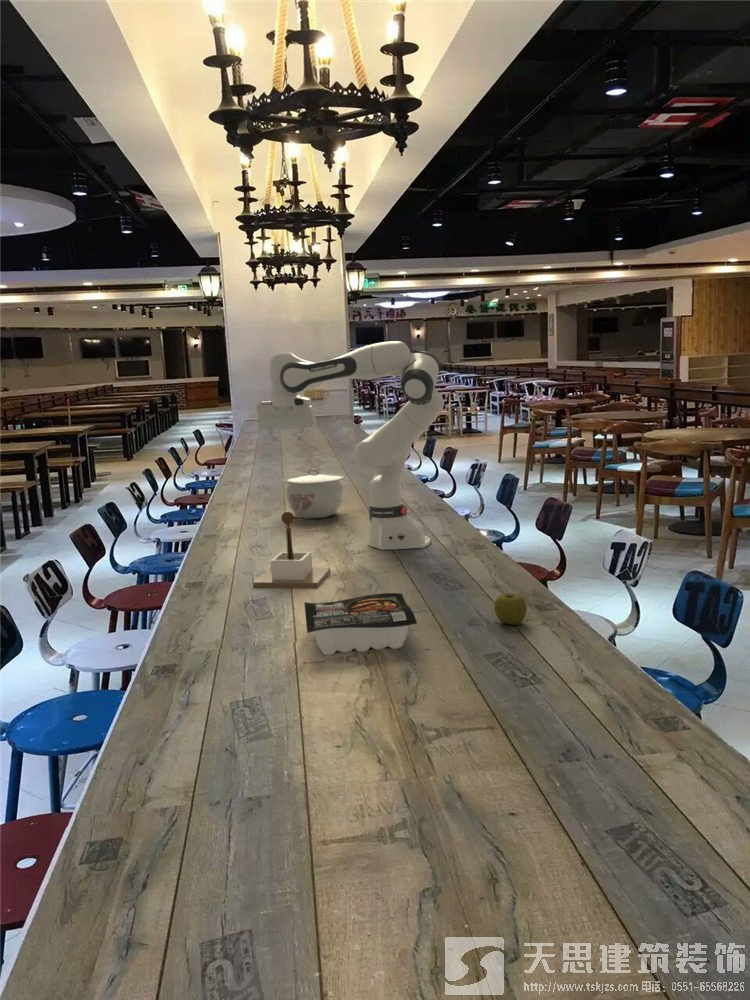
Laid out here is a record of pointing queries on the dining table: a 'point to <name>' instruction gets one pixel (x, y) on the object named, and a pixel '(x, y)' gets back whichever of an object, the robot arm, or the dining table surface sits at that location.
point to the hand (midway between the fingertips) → (287, 440)
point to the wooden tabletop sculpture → (289, 531)
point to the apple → (510, 608)
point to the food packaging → (360, 623)
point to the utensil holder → (292, 572)
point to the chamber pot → (314, 493)
